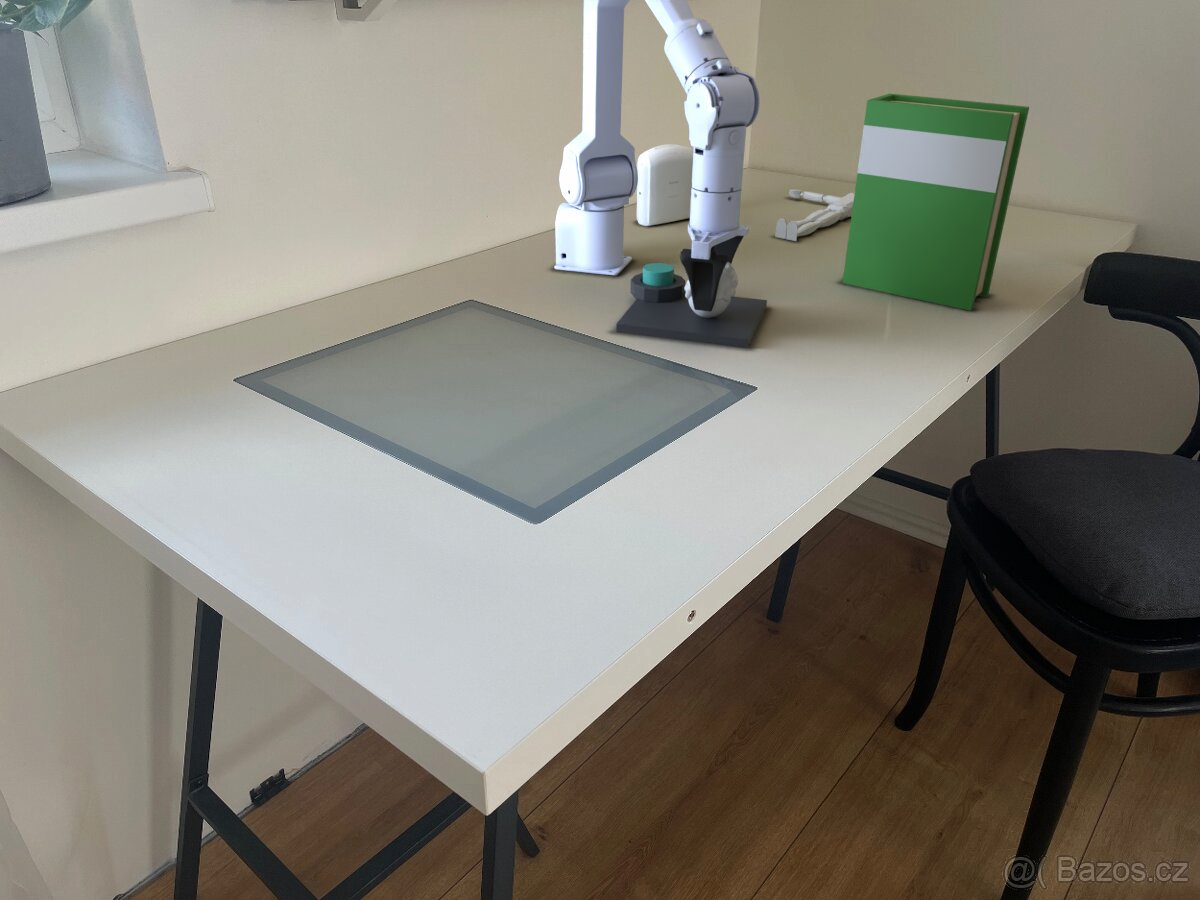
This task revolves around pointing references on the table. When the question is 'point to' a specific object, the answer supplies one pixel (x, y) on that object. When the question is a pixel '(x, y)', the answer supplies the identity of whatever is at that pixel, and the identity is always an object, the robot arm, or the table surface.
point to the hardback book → (932, 196)
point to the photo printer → (664, 184)
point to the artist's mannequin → (816, 215)
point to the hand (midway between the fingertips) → (709, 300)
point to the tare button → (658, 274)
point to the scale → (688, 316)
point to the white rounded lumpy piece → (718, 293)
